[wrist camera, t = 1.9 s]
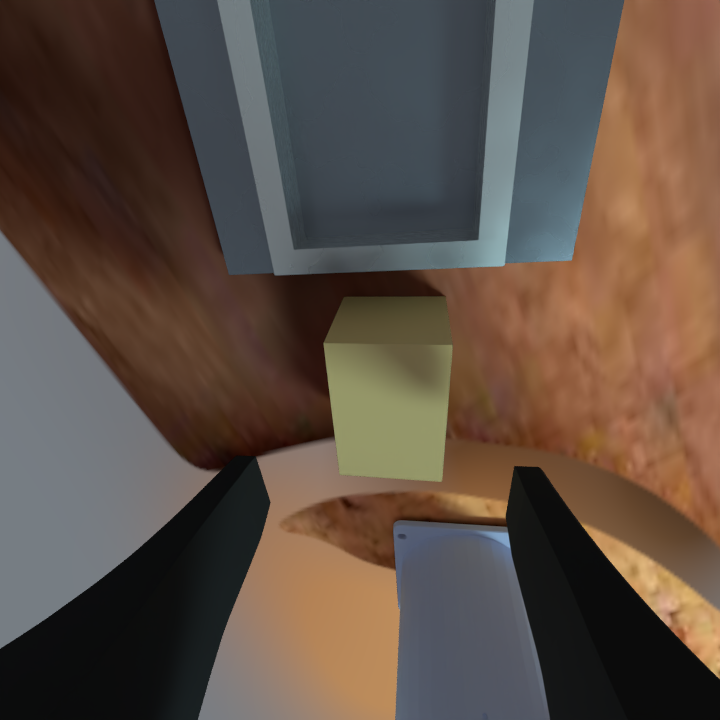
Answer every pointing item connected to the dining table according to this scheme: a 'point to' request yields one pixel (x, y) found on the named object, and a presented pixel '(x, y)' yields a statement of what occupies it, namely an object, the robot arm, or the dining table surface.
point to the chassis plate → (392, 127)
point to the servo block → (390, 385)
